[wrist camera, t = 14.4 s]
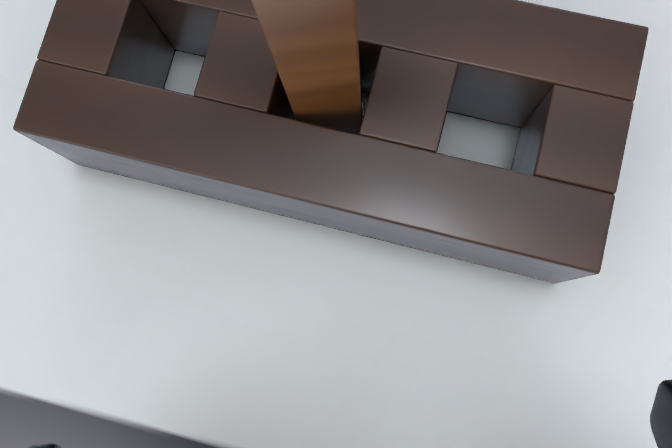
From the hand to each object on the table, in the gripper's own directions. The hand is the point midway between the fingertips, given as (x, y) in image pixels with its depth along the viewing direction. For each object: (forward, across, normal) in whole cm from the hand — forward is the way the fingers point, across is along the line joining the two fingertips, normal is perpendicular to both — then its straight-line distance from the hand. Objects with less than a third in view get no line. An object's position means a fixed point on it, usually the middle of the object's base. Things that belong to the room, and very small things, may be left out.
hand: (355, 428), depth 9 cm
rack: (+16, 0, +3) cm, 16 cm away
